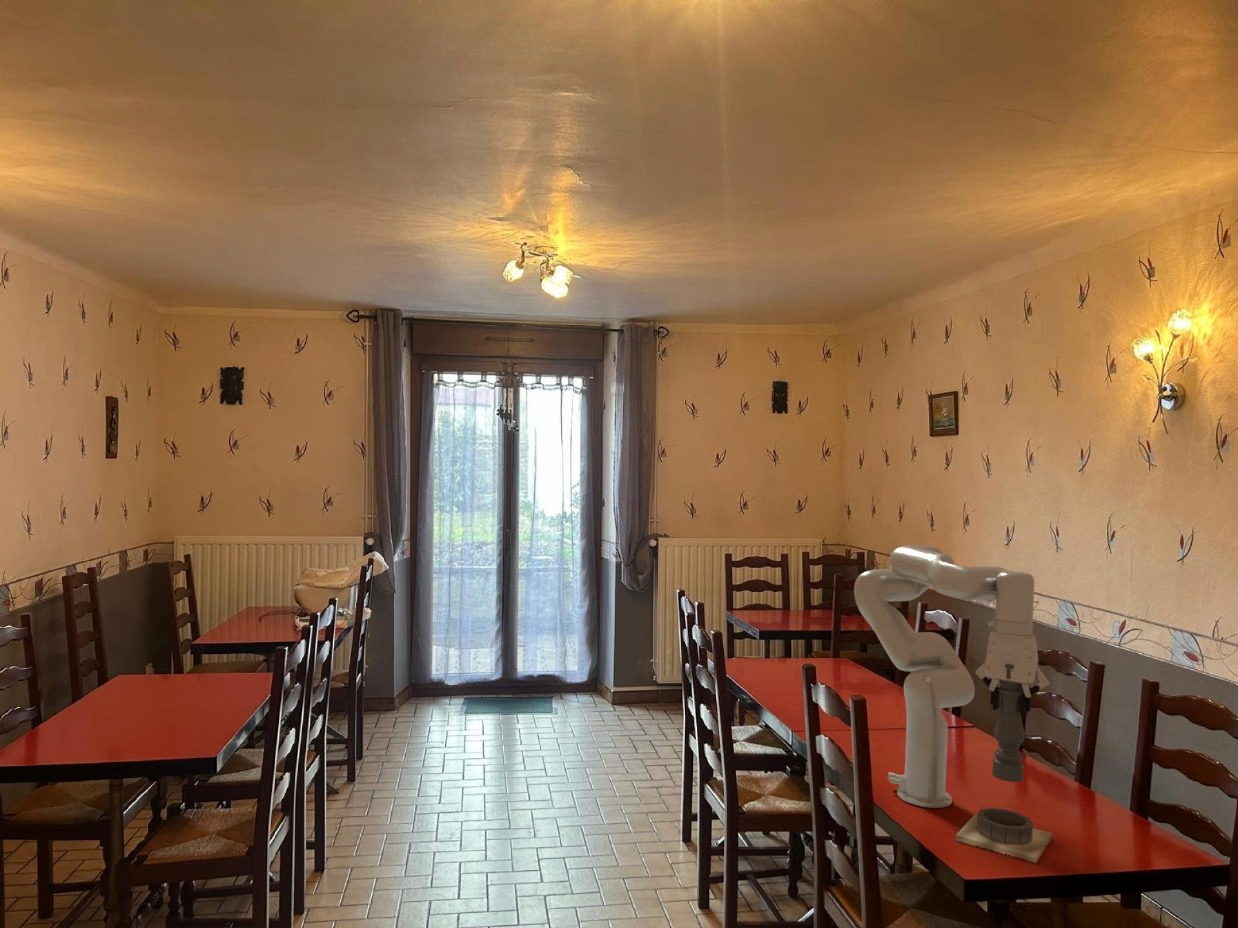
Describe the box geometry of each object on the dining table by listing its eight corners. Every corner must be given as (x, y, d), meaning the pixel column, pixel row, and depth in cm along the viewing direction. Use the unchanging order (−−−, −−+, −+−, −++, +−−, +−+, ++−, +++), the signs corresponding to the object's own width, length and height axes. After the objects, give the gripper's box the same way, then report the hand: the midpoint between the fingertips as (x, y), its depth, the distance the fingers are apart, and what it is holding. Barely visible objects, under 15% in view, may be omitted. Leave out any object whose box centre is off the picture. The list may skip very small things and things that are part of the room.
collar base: (955, 840, 187) (956, 818, 187) (975, 818, 200) (976, 797, 200) (1036, 863, 178) (1037, 840, 178) (1051, 838, 191) (1052, 817, 191)
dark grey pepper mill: (996, 769, 193) (1001, 657, 193) (1026, 776, 189) (1031, 662, 189) (988, 776, 188) (992, 661, 188) (1018, 783, 184) (1023, 666, 184)
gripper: (968, 624, 191) (964, 707, 191) (1053, 636, 181) (1049, 723, 181) (977, 620, 197) (973, 700, 197) (1059, 631, 187) (1056, 715, 187)
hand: (1010, 710), depth 189 cm, fingers closed on dark grey pepper mill, 5 cm apart
